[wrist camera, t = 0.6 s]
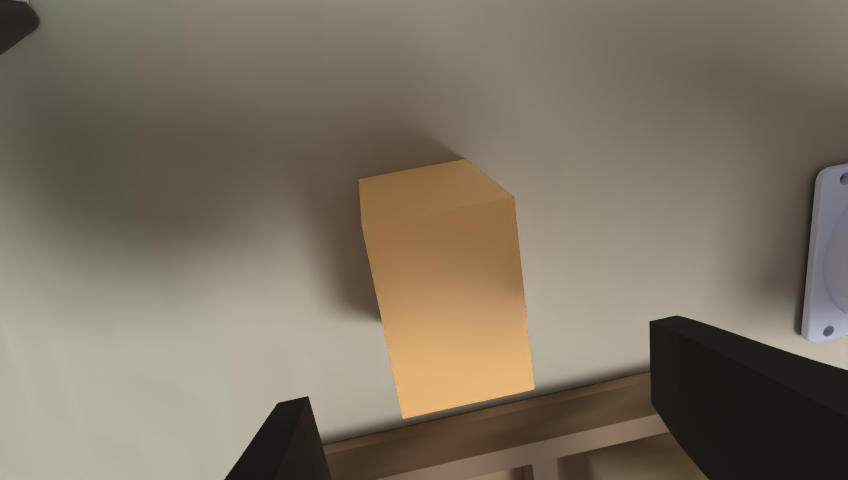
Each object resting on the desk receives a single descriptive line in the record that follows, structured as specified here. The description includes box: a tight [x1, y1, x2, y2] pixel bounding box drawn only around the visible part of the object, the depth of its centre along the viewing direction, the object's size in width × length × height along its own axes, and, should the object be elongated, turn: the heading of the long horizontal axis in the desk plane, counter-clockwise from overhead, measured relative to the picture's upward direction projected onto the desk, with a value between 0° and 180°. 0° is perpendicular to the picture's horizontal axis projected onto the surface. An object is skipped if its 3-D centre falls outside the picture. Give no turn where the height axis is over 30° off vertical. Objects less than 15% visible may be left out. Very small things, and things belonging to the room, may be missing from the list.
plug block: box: [359, 159, 534, 419], centre depth 17 cm, size 4×6×6 cm, turn 9°
